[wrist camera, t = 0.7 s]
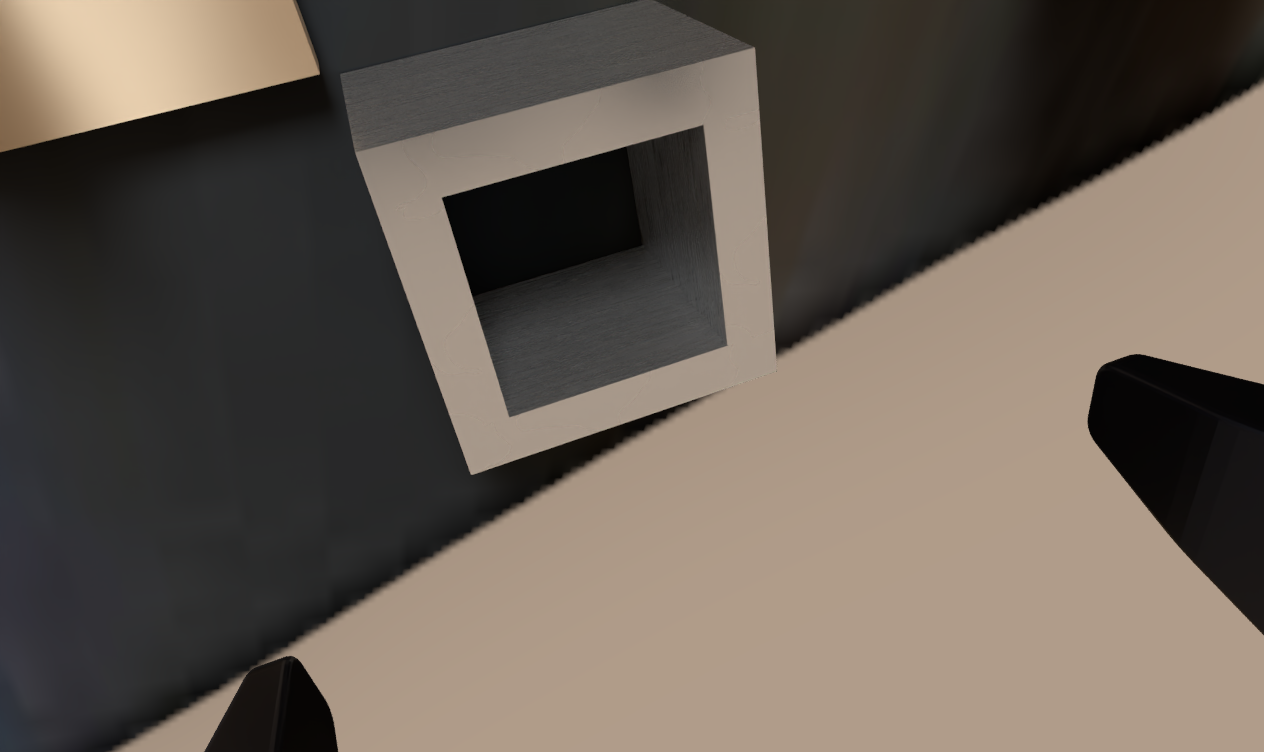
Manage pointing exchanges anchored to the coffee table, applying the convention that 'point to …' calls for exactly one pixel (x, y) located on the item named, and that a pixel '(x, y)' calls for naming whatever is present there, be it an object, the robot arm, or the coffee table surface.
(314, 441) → the coffee table surface
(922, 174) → the coffee table surface
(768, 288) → the white square hollow block
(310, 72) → the post stand
